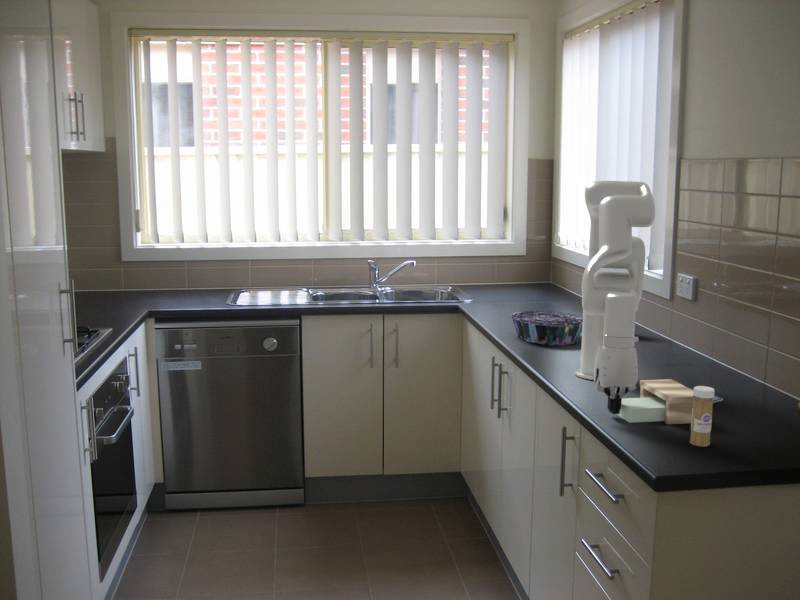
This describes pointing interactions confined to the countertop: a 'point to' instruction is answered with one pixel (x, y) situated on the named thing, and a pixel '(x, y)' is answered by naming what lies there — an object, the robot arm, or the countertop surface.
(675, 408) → the birch shelf
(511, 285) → the countertop surface
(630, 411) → the mint green block
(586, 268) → the robot arm
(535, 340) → the decorative bowl
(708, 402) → the sprinkles bottle
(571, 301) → the countertop surface
